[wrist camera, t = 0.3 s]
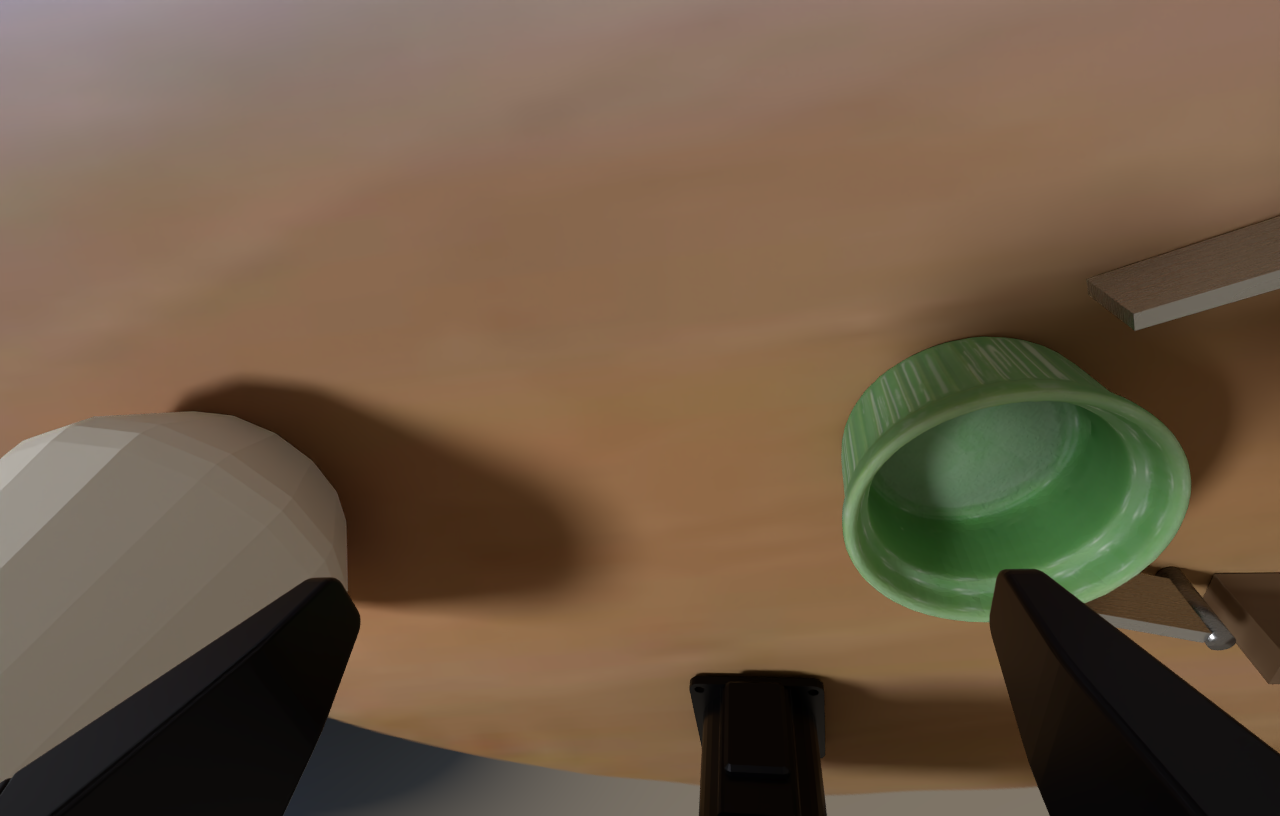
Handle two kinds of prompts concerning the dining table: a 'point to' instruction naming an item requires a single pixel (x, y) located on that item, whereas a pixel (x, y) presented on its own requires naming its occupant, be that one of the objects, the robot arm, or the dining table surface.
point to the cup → (142, 557)
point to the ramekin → (1003, 478)
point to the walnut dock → (1251, 616)
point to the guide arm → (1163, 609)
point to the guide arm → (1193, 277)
